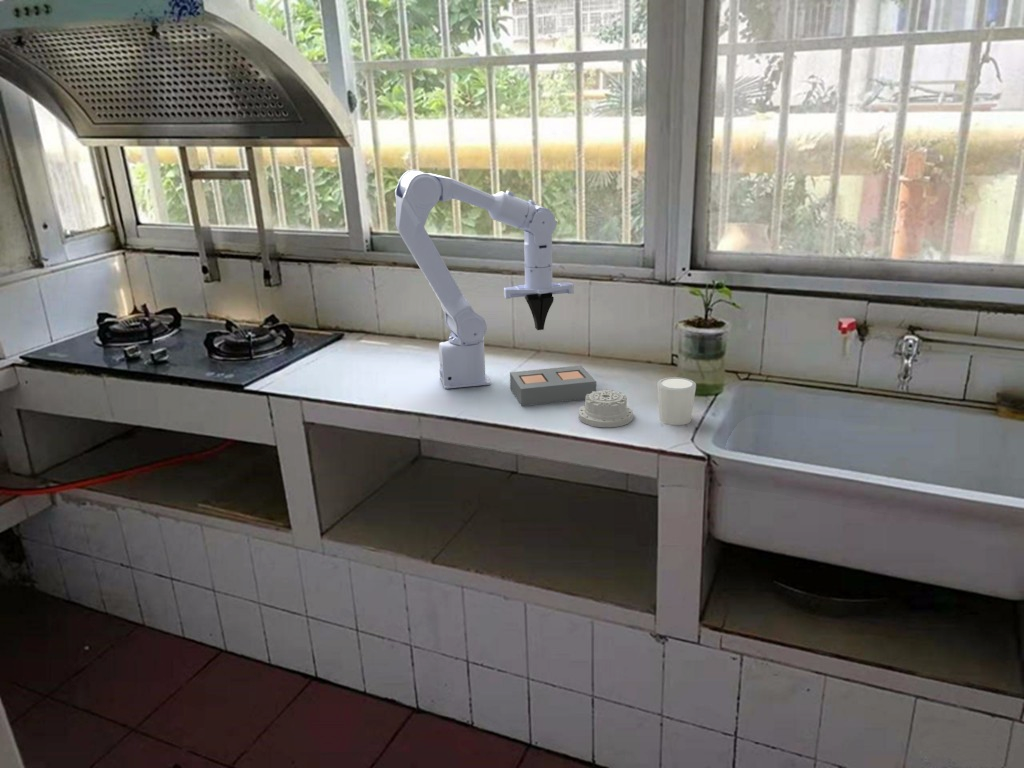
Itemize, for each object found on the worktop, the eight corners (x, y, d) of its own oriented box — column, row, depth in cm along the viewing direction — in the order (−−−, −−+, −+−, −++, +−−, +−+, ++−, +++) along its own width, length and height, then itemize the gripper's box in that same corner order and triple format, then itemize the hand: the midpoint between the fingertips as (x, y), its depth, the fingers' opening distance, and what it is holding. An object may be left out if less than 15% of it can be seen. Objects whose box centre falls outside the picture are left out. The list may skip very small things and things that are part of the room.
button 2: (563, 395, 157) (563, 379, 156) (557, 388, 161) (557, 373, 160) (583, 392, 158) (583, 377, 157) (577, 385, 162) (577, 371, 161)
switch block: (521, 406, 153) (520, 388, 151) (510, 388, 162) (509, 372, 161) (596, 398, 156) (596, 381, 154) (581, 381, 165) (581, 365, 164)
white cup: (699, 425, 142) (701, 388, 139) (661, 427, 141) (662, 390, 139) (688, 411, 148) (689, 375, 146) (651, 413, 148) (653, 377, 145)
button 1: (525, 399, 156) (525, 383, 154) (521, 391, 159) (520, 376, 158) (546, 396, 156) (546, 381, 155) (541, 389, 160) (541, 374, 159)
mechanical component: (575, 427, 143) (631, 430, 141) (575, 405, 141) (632, 407, 139) (581, 407, 152) (633, 409, 150) (581, 385, 150) (634, 387, 149)
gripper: (507, 271, 159) (509, 336, 163) (577, 266, 162) (577, 330, 166) (500, 264, 165) (503, 327, 170) (568, 259, 168) (568, 322, 173)
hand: (539, 328), depth 169 cm, fingers closed
